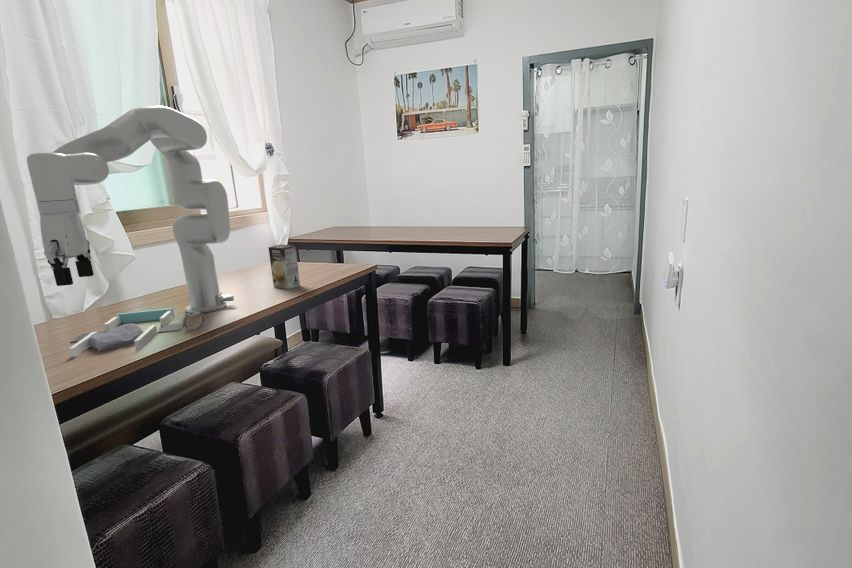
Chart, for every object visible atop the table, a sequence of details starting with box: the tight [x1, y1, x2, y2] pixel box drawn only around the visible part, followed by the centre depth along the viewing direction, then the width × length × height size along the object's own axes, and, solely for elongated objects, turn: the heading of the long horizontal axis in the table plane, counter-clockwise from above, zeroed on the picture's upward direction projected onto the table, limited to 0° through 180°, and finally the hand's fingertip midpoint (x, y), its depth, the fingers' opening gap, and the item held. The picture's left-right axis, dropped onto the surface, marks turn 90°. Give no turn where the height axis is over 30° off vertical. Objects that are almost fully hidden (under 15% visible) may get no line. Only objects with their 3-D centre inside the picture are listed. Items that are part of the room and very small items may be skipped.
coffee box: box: [267, 244, 301, 290], centre depth 182 cm, size 9×6×16 cm
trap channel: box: [68, 307, 188, 358], centre depth 135 cm, size 29×29×3 cm
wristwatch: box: [182, 311, 206, 331], centre depth 137 cm, size 6×3×5 cm, turn 147°
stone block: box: [89, 323, 144, 352], centre depth 128 cm, size 12×5×10 cm
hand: (76, 280), depth 112 cm, fingers open, 9 cm apart
